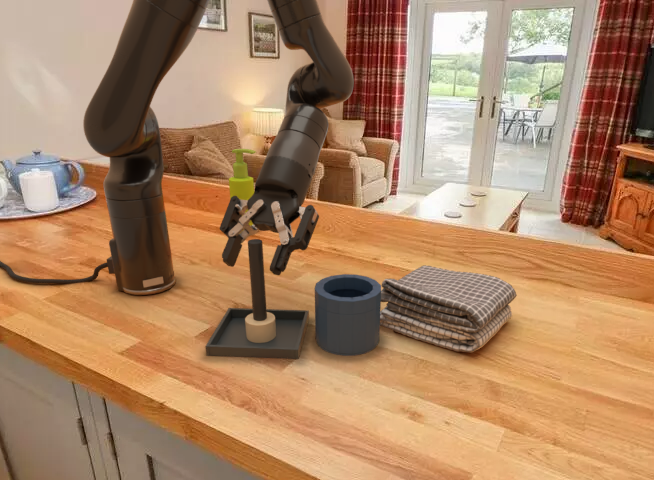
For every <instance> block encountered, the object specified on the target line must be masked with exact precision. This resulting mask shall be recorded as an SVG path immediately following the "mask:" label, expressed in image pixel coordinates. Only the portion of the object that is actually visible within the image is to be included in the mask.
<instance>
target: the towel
mask: <svg viewBox="0 0 654 480" xmlns="http://www.w3.org/2000/svg"><path fill="white" fill-rule="evenodd" d="M516 298H517V292H516V290H515V288H514V286H512V284H510V283H509V282H507V281H506V280H503V279H501V278H500V277H497V276H494V275H488V274H484V273H477V272H471V271H470V272H467V271H456V270H450V269H446V268H441V267H436V266H432V265H421V266H420V267H418V268H415V269H414V270H412V271H410V272H408V274H407V273H406V274H405V275H404V276H402V277H401V278H400V279H395V278H384V280H383V281H382V282H381V303H386V306H385V307H384V308H383V309H382V310H381V309H380V327H384V328H387V329H389V330H392V331H393V332H396V333H398V334H402V335H404V336H407V337H409V338H413V339H415V340H419V341H421V342H425V343H428V344H431V345H435V347H441V348H444V349H448V350H452V351H454V352H462V353H474V352H476V351H477V350H480V348H483V347H484V346H485V345H486V344H487V343H488V342H489V341H490V340H491V339H492V338H493V337H494V336H495V335H496V334H497V333H498V332H499V331H500V330H501V329H502V327H503V326H504V325H505V324H506V323H507V322H509V320H511V319H512V317H513V312H512V308H511V305H510V304H511V303H512V302H513V301H514V300H515V299H516Z"/></svg>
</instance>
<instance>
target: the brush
mask: <svg viewBox="0 0 654 480" xmlns="http://www.w3.org/2000/svg"><path fill="white" fill-rule="evenodd" d="M247 251H248V266H249V279H250V280H249V281H250V292H251V307H252V309H253V313H251V314H249V315H248V316H247V317H246V318H245V325H246V337H247V339H248V340H249V341H251V342H254V343H265V342H269V341H271V340H273V339H274V338H275V337H276V324H275V316H274V315H273V314H272V313H270V312H267V310H266V309H267V295H266V278H265V264H264V262H265V261H264V246H263V240H262V239H259V238H253V239H249V240H247Z"/></svg>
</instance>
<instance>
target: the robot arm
mask: <svg viewBox="0 0 654 480" xmlns="http://www.w3.org/2000/svg"><path fill="white" fill-rule="evenodd" d="M210 1H211V0H132V3H131V6H130V9H129V11H128V14H127V17H126V19H125V22H124V25H123V28H122V30H121V33H120V35H119V38H118V41H117V45H116V48H115V50H114V52H113V55H112V57H111V60H110V63H109V65H108V66H107V69H106V71H105V72H104V75H103V76H102V79H101V80H100V82H99V84H98V86H97V88H96V89H95V92H94V93H93V95H92V97H91V99H90V101H89V102H88V105H87V107H86V109H85V111H84V115H83V122H82V123H83V125H82V126H83V132H84V136H85V139H86V141H87V143H88V145H89V146H90V147H91V148H92V150H94V151H95V152H96V153H97V154H99V155H101V156H103V157H106V158H109V167H108V171H107V174H106V176H105V177H104V180H103V192H104V196H105V202H106V208H107V212H108V219H109V223H110V227H111V233H112V238H111V239H110V240H109V241H108V246H109V250H110V256H109V257H108V258H107V259H106V262H104V263H101V264H98V265H97V266H96V267H95V268H94V269H93V274H92V275H90V276H87V277H84V278H76V279H74V278H73V279H63V278H61V279H60V278H34V277H26V276H23V275H20V274H16V273H15V272H14V270H13V269H12V268H11V267H10V266H9V265H8V264H6V263H5V262H3V261H1V260H0V267H1V268H2V269H4V270H5V271H6V272H7V274H8V275H9V277H11V278H12V279H14V280H16V281H20V282H23V283H29V284H30V283H31V284H44V285H45V284H49V285H50V284H54V285H70V284H81V283H89V282H92V281H95V280H96V279H98V277H99V275H100V271H102V270H104V269H106V268H107V269H108V274H109V275H114V278H115V283H116V287H117V291H118V292H124V293H126V294H128V295H132V296H133V295H134V296H149V295H154V294H155V295H156V294H159V293H162V292H165V291H167V290H170V289H171V288H173V287H174V286H176V285H175V284H176V282H177V280H176V276H175V270H174V263H173V256H172V249H171V241H170V234H169V227H168V219H167V214H166V207H165V200H164V194H163V193H164V192H163V191H164V190H163V179H164V172H165V170H164V159H163V158H164V157H163V148H162V137H161V131H160V126H159V121H158V119H157V115H156V114H155V112H154V110H153V108H152V107H151V104H152V102H153V99H154V97H155V94H156V92H157V89H158V87H159V86H160V84H161V83H162V81H163V80H164V78H165V77H166V75H167V74H168V73H169V72H170V70H171V69H172V68H173V66H174V65H175V64H176V63H177V62H178V60H179V59H180V58H181V56H182V55H183V54H184V52H185V51H186V50H187V48H188V46H189V45H190V44H191V42H192V41H193V39H194V37H195V35H196V33H197V31H198V28H199V27H200V24H201V22H202V19H203V17H204V15H205V13H206V11H207V8H208V6H209V3H210ZM266 1H267V4H268V7H269V10H270V12H271V16H272V18H273V20H274V23H275V25H276V26H275V27H276V29H277V31H278V34H279V36H280V39H281V41H282V43H283V46H284V47H285V48H286V49H288V50H290V51H299V50H302V51H304V52H305V53H306V54H307V55H308V57H309V58H310V60H311V61H312V62H310V63H307V64H304V65H302V66H300V67H298V68H297V69H296V70H295V71H294V72H293V74H292V75H291V77H290V79H289V81H288V84H287V88H286V99H285V110H284V117H283V119H282V121H281V123H280V126H279V129H278V132H277V134H276V136H275V137H274V139H273V141H272V143H271V145H270V146H269V149H268V150H267V153H266V156H265V158H264V161H263V164H262V166H261V167H260V171H259V173H258V175H257V179H256V181H255V182H254V194H253V195H252V197H251V198H250V199H249V200H240V199H239V198H238V197H237V196H233V197H231V199H230V198H229V202H228V205H227V207H226V210H225V213H224V215H223V218H222V220H221V223H220V226H219V230H220V232H221V233H223V235H225V237H227V241H226V243H225V246H224V248H223V251H222V254H221V258H222V262H223V263H224V264H225V265H226V266H227V267H232V268H233V267H235V266H236V262H237V260H238V257H239V255H240V253H241V250H242V248H243V243H244V242H245V241H246V240H247V239H248V238H249V237H251V236H255V235H256V234H257V233H259V231H261V232H266V231H267V232H269V231H270V232H272V233H276V234H278V238H279V242H280V244H277V246H276V249H275V251H274V254H273V257H272V259H271V262H270V265H269V271H270V272H271V273H272V274H273V275H275V276H281V274H282V273H284V272H285V270H286V269H287V265H288V263H289V261H290V258H291V255H292V253H293V252H294V251H297V250H301V251H305V250H307V249H308V248H309V245H310V242H311V240H312V237H313V234H314V232H315V229H316V226H317V224H318V221H319V219H320V215H319V213H318V211H317V209H316V208H315V206H314V205H313V204H308V205H306V207H305V206H303V205H304V203H305V200H306V197H307V195H308V192H309V189H310V187H311V183H312V182H313V178H314V175H315V174H316V169H317V166H318V163H319V157H320V154H321V151H322V148H323V146H324V143H325V140H326V138H327V134H328V130H329V119H328V117H327V115H326V113H325V112H324V111H323V110H322V109H324V108H327V107H331V106H334V105H338V104H341V103H343V102H345V101H347V100H348V99H349V98H350V97H351V95H352V93H353V90H354V82H355V81H354V74H353V70H352V68H351V64H350V63H349V61H348V59H347V57H346V56H345V55H344V53H343V51H342V50H341V48H340V47H339V45H338V43H337V42H336V40H335V39H334V38H335V37H334V36H333V35H332V33H331V32H330V30H329V29H328V27H327V25H326V24H325V22H324V18H323V15H322V12H321V9H320V7H319V3H318V0H266ZM247 209H248V211H247V212H246V213H245V211H246V210H247ZM242 215H243V216H242ZM298 218H299V220H300V221H299V224H298V226H297V229H296V231H295V233H294V232H293V230H292V225H291V224H293V223H294V222H295V221H296V220H298ZM250 221H252V223H253V225H251V226H250V225H249V222H250ZM239 233H240V234H239Z"/></svg>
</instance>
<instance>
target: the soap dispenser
mask: <svg viewBox="0 0 654 480" xmlns="http://www.w3.org/2000/svg"><path fill="white" fill-rule="evenodd" d="M256 153H257V151H256V150H255V149H250V148H235V149H232V150H231V154H235V162H234V163H232V173H233V176H231V177H229V178H228V188H229V200H230V199H231V197H233V196H237V197H238V198H239V199H240V200H249V199H250V198H251V197H252V195H253V194H254V191H255V181H254V177H252V176H249V172H248V163H247V162H245V161H244V154H249V155H254V154H256ZM247 211H248V209H247V210H246V211H245V213H246V212H247ZM242 216H243V215H242ZM249 225H250V226H251V225H253V223H252V221H250V222H249ZM239 234H240V233H239Z"/></svg>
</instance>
